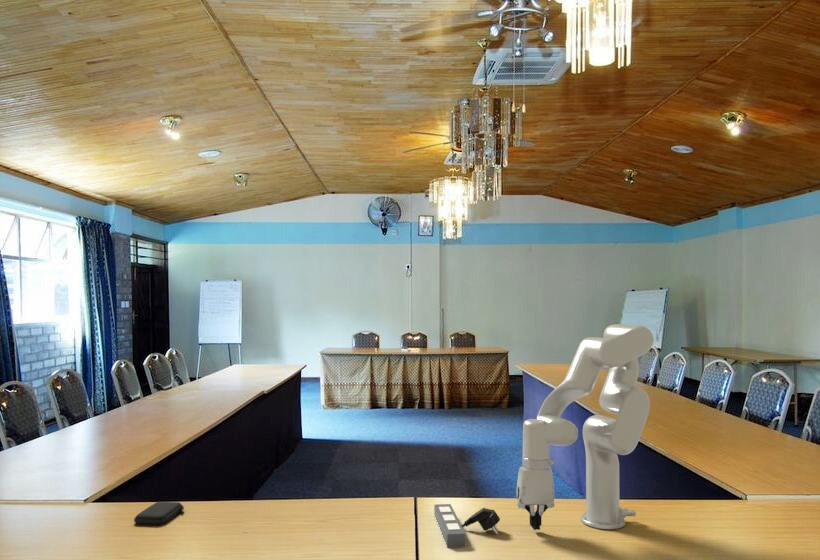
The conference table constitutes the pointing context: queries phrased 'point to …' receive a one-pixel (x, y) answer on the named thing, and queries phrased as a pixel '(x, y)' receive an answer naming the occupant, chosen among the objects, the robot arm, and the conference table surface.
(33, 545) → the conference table surface
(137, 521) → the carrying case or bag
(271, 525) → the conference table surface
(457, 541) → the power strip
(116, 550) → the conference table surface
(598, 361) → the robot arm
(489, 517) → the power plug
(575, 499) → the conference table surface
